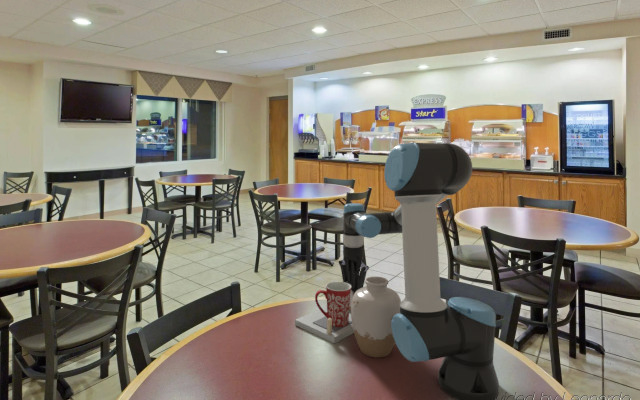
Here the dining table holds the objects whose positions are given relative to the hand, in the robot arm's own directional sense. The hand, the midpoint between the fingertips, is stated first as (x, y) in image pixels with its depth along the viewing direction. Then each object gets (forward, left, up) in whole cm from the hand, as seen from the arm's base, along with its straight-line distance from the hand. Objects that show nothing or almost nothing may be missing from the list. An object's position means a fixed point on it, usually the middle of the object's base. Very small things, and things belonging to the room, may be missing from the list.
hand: (353, 305), depth 144 cm
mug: (-2, +13, -2) cm, 13 cm away
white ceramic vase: (-21, +14, -4) cm, 26 cm away
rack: (+1, +9, -4) cm, 10 cm away
